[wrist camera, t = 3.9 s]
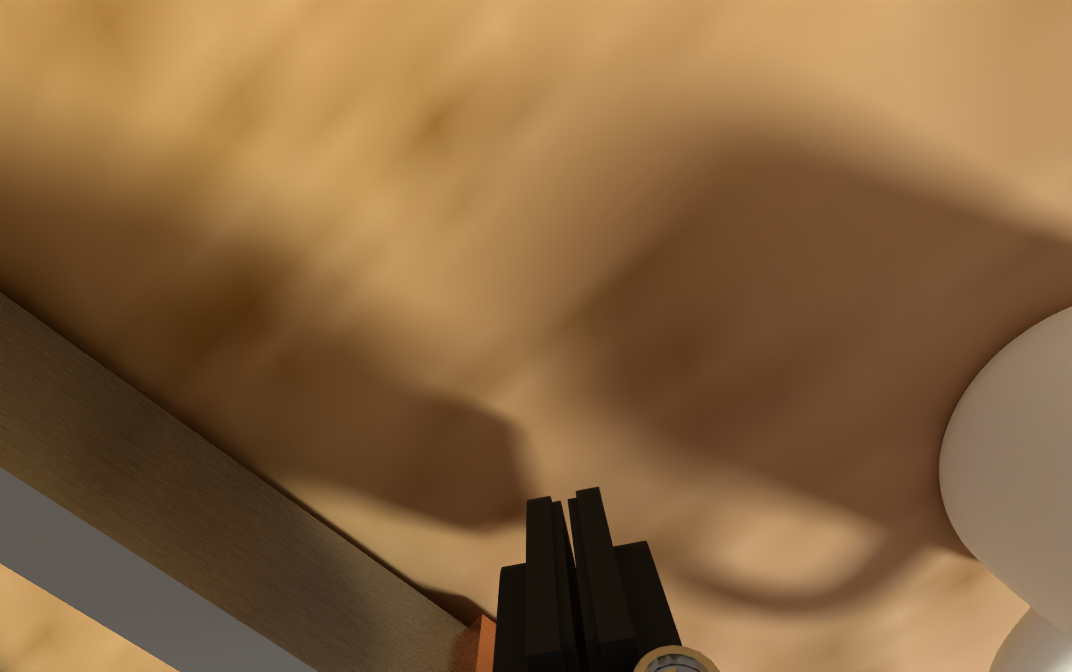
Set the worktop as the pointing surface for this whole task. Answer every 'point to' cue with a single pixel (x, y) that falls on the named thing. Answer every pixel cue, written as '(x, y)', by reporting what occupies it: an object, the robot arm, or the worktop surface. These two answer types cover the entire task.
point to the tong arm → (189, 535)
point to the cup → (1020, 487)
